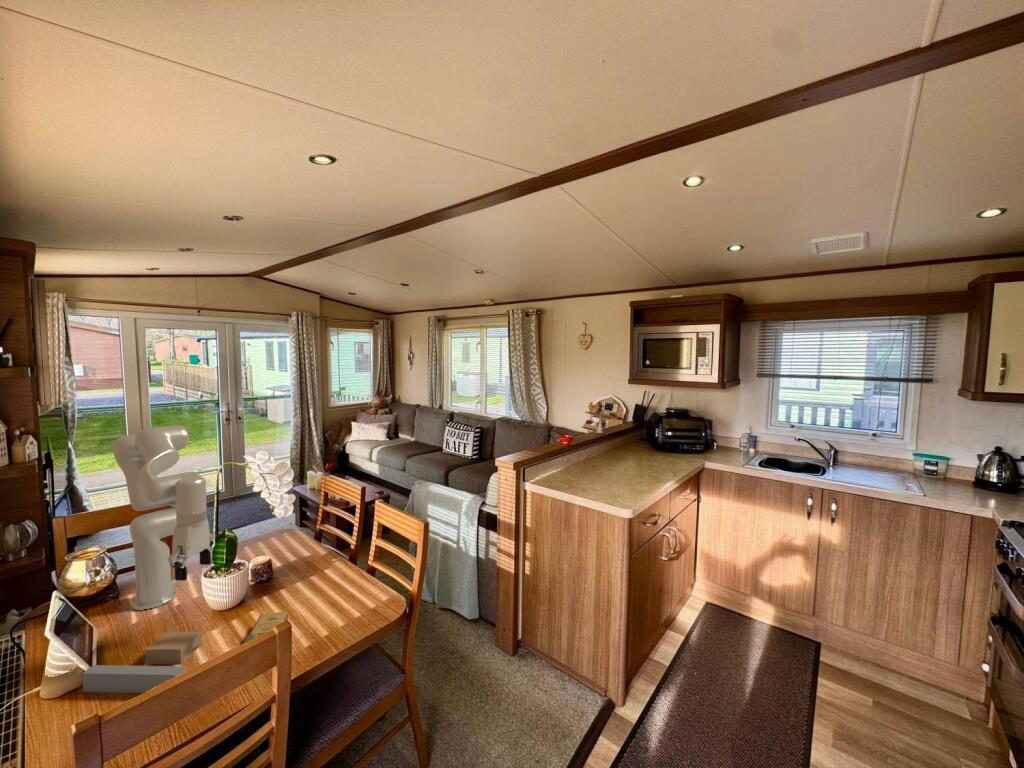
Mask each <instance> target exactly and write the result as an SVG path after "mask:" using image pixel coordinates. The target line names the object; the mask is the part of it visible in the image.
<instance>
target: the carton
mask: <svg viewBox="0 0 1024 768" xmlns="http://www.w3.org/2000/svg"><path fill="white" fill-rule="evenodd" d="M288 616H289V614H288V611H279V612H271V613H262V614H260V615H259V617H258V618H257V620H256V622H255V623H254V626H253V627H252V629H251V631H250V633H249V634H248V636H247V637H246V639H245V641H244V643H246V642H248V641H250V640H252V639H254V638H256V637H258V636H260V635H262V634H264V633H266V632H267V631H269V630H271V629H273V628H274V627H275V626H276V625H277V624H279V623H281V622H283V621H287V620H288V619H289V618H288ZM288 621H289V620H288Z"/></svg>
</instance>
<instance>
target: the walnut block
mask: <svg viewBox="0 0 1024 768" xmlns="http://www.w3.org/2000/svg"><path fill="white" fill-rule="evenodd" d="M200 646H202V631H201V630H200V631H196V630H195V631H188V630H187V631H166V632H165V633H164V634H162V635H161V636H160V637H158V638H157V639H156V640H155V641H154V642H153V643H151V644H150V645H148V647H146V648H145V649H144V664H145V665H181V664H183V663H184V662H185V661H186V660H187V659H188V658H189V657H190V656H192V655H193V653H195V651H196V650H198V649H199V648H200Z"/></svg>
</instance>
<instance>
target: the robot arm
mask: <svg viewBox="0 0 1024 768" xmlns="http://www.w3.org/2000/svg"><path fill="white" fill-rule="evenodd" d="M189 444H190V433H189V432H188V430H187V429H186V428H185V427H184V426H183V425H177V424H176V425H175V424H174V425H165V426H155V427H150V428H149V427H148V428H146V429H143V430H140V431H139V432H138V433H134V434H127V435H124V436H121V437H119V438H117V439H115V440H114V442H113V445H112V451H113V456H114V460H115V462H116V463H117V465H118V467H119V468H120V469H121V471H122V473H123V475H124V478H125V482H126V489H127V494H128V498H129V503H130V506H131V508H132V509H133V510H134V511H138V512H140V511H141V512H142V511H147V510H153V509H157V508H162V507H167V506H171V507H170V508H165V509H161V510H160V509H159V510H156V511H153V512H149V513H144V514H142V515H139V516H137V517H135V518H134V519H133V520H132V521H131V522H130V524H129V534H130V538H131V540H132V545H133V552H134V553H133V554H134V568H135V569H134V574H135V591H136V592H135V593H136V594H135V595H136V597H135V598H134V599H133V600H132V601H131V602H130V608H131V609H132V610H134V611H135V610H136V611H144V609H147V610H151V609H150V608H152V609H155V608H158V607H161V606H164V605H165V604H167V603H170V602H171V601H173V600H174V599H175V598H176V597H177V595H178V592H177V589H176V588H174V587H175V585H177V584H178V583H180V582H181V581H182V582H183V581H186V580H188V568H187V566H186V564H187V562H188V560H189V559H191V558H192V557H194V556H196V555H198V554H199V565H203V566H205V565H206V566H209V565H211V564H212V558H211V557H212V555H211V553H212V550H213V548H212V547H213V546H214V541H215V536H216V534H214V533H211V531H210V525H209V524H210V523H209V520H208V513H207V511H208V510H207V483H206V479H205V477H204V476H202V475H200V474H199V473H198V472H197V471H186V472H180V473H179V472H178V473H173V474H168V475H163V476H158V475H159V474H161V473H164V472H165V471H167V470H169V469H171V468H173V467H174V466H175V465H176V464H177V463H178V462H179V460H180V452H179V451H181V450H182V449H185V448H186V447H187V446H188V445H189ZM143 458H144V459H143ZM170 536H172V540H171V541H172V543H171V545H172V546H171V549H170V546H168V544H167V543H165V542H164V541H162V539H163V538H166V537H170ZM170 550H171V551H170ZM181 560H182V561H181ZM171 568H173V569H174V578H173V579H172V576H171V575H172V573H171V570H172V569H171ZM172 599H173V600H172ZM163 604H164V605H163ZM154 607H155V608H154Z"/></svg>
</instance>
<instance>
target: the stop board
mask: <svg viewBox="0 0 1024 768" xmlns="http://www.w3.org/2000/svg"><path fill="white" fill-rule="evenodd" d="M184 669H185V667H184V666H181V665H180V666H179V665H178V666H177V665H175V666H171V665H168V666H167V665H163V666H162V665H116V664H115V665H111V664H110V665H108V664H98V665H97V664H93V665H92V666H91V667H89V668H87V669H86V670H85V671H84V672H82V674H81V675H82V677H81V678H82V692H83V693H115V694H116V693H117V694H118V693H121V694H122V693H124V694H127V693H128V694H132V693H133V694H139V693H140V694H145V693H144V692H146V691H148V690H150V689H152V688H154V687H156V686H158V685H160V684H162V683H164V682H165V681H167V680H169V679H172V678H174V677H176V676H178V675H180V674H182V673H184V672H185V671H184ZM184 674H185V673H184Z"/></svg>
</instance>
